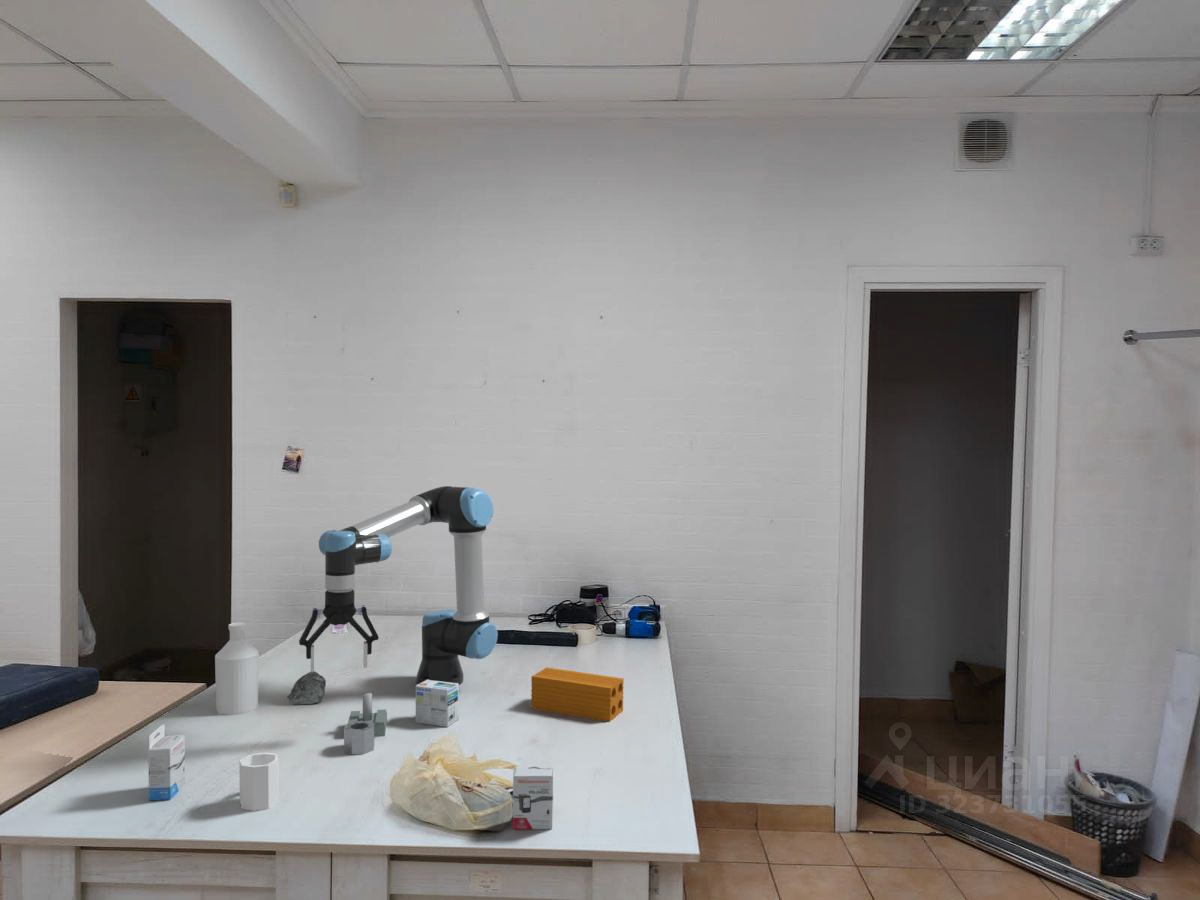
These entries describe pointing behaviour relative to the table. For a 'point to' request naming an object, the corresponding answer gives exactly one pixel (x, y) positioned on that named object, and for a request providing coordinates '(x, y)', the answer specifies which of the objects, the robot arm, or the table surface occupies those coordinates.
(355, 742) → the hub
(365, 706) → the pillow block
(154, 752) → the ink box
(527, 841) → the table surface
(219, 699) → the bottle
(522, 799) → the ink box
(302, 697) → the stone
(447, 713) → the light bulb box
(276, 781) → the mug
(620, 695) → the brick
